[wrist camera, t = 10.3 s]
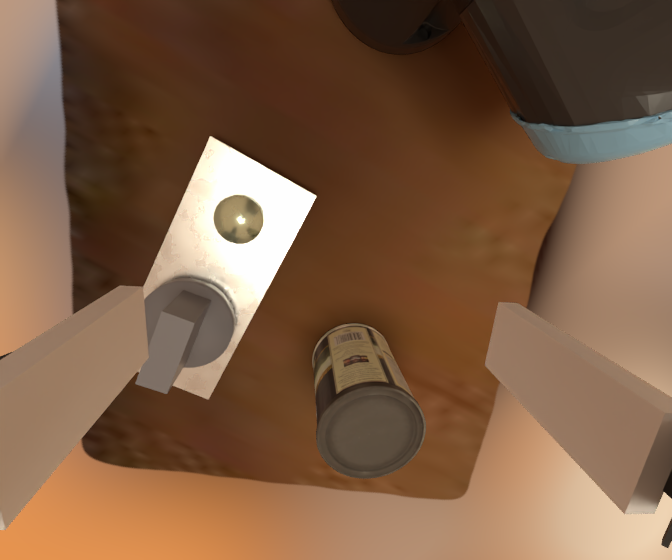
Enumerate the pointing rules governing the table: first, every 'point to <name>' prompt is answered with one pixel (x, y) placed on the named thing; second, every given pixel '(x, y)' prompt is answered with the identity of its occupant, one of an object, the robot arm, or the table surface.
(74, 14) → the table surface
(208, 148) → the base plate
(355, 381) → the coffee can
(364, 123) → the table surface
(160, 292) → the wing knob
